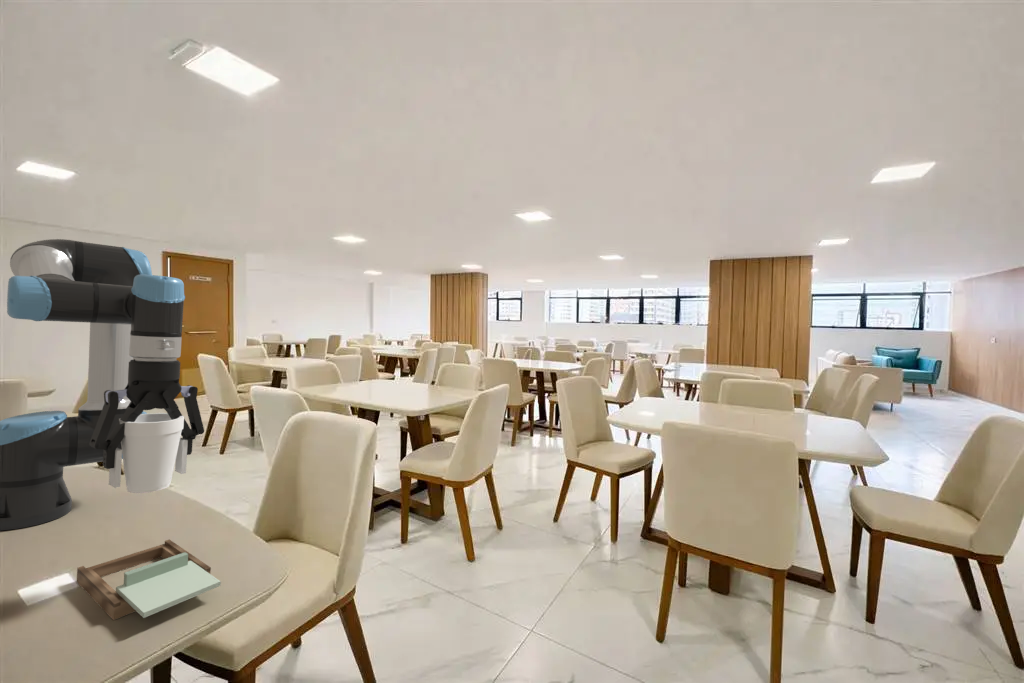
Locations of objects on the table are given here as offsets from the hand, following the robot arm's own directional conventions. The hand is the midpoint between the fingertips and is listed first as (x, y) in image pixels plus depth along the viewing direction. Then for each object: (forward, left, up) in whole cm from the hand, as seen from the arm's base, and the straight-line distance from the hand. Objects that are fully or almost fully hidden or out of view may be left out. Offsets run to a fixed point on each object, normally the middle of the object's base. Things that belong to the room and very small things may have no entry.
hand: (149, 478), depth 83 cm
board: (+3, -1, -18) cm, 18 cm away
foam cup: (0, 0, -2) cm, 2 cm away
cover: (+13, -1, -16) cm, 20 cm away
